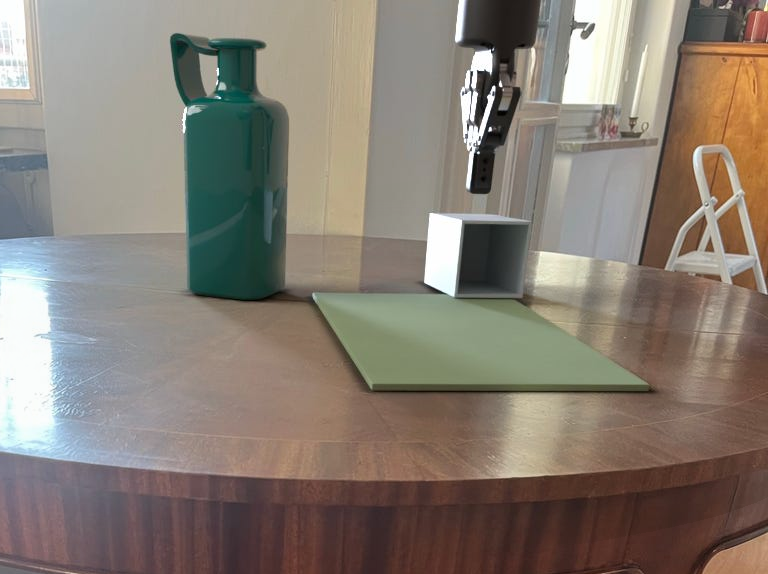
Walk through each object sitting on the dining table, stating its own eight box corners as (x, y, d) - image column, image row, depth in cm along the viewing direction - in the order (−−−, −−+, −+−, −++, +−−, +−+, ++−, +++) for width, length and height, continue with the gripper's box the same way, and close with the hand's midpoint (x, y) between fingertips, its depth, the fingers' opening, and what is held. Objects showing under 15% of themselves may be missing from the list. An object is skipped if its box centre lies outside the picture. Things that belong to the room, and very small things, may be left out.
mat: (507, 300, 97) (507, 294, 97) (648, 391, 68) (650, 384, 67) (312, 297, 95) (312, 292, 95) (371, 390, 66) (372, 383, 65)
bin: (493, 214, 102) (532, 221, 91) (485, 283, 105) (522, 298, 95) (429, 213, 101) (461, 220, 91) (424, 282, 104) (454, 297, 94)
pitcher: (291, 289, 99) (298, 38, 88) (258, 302, 92) (261, 32, 81) (206, 280, 102) (202, 37, 91) (168, 293, 95) (159, 31, 84)
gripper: (565, -18, 83) (534, 200, 91) (519, -5, 94) (495, 188, 103) (480, -22, 82) (457, 199, 91) (445, -8, 93) (427, 186, 102)
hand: (477, 193), depth 97 cm, fingers closed
